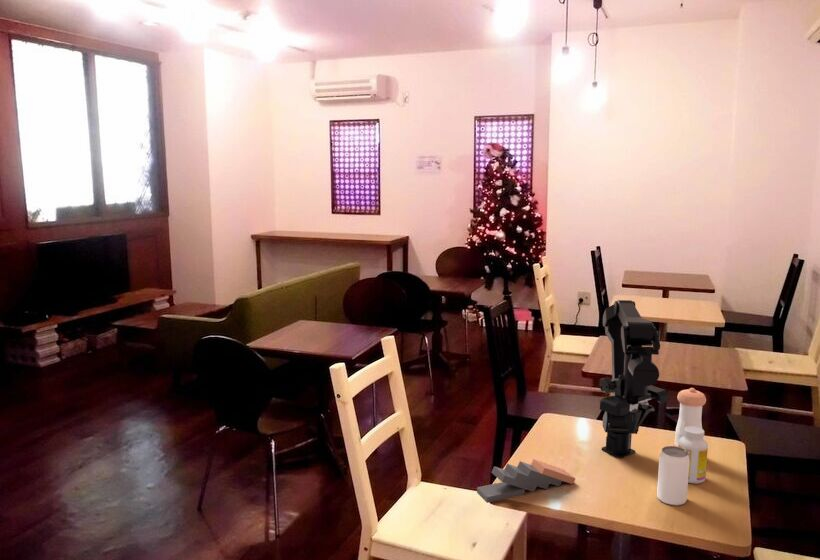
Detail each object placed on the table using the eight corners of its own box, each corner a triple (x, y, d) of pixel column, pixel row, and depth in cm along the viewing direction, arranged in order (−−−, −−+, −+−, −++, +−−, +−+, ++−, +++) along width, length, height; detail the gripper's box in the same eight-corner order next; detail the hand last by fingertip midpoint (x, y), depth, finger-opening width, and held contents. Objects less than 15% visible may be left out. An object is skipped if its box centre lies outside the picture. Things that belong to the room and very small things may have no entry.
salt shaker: (667, 455, 174) (672, 387, 171) (681, 448, 179) (686, 382, 175) (693, 465, 169) (698, 395, 165) (707, 457, 173) (712, 389, 170)
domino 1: (525, 476, 160) (494, 466, 156) (536, 486, 155) (504, 475, 151) (522, 482, 160) (491, 472, 156) (534, 492, 155) (501, 481, 151)
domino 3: (538, 474, 161) (507, 463, 157) (549, 483, 156) (517, 472, 152) (535, 480, 161) (504, 469, 157) (546, 489, 156) (514, 478, 152)
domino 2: (513, 479, 158) (477, 487, 155) (524, 489, 154) (487, 497, 150) (513, 485, 159) (477, 493, 155) (524, 495, 154) (486, 503, 150)
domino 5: (563, 469, 163) (533, 458, 160) (575, 478, 159) (544, 467, 155) (561, 475, 163) (530, 464, 160) (572, 484, 159) (541, 473, 155)
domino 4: (550, 471, 162) (519, 461, 158) (562, 480, 158) (530, 469, 154) (548, 477, 162) (517, 467, 158) (559, 486, 158) (528, 475, 154)
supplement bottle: (703, 474, 164) (707, 426, 162) (706, 486, 158) (710, 436, 155) (675, 470, 166) (678, 422, 164) (676, 482, 160) (680, 433, 158)
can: (689, 507, 148) (692, 458, 146) (659, 504, 149) (662, 456, 147) (683, 493, 154) (686, 446, 152) (654, 491, 155) (657, 444, 153)
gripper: (634, 357, 168) (630, 414, 171) (583, 370, 159) (580, 430, 161) (671, 369, 159) (667, 429, 162) (620, 382, 149) (616, 446, 152)
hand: (632, 433), depth 160 cm, fingers closed
